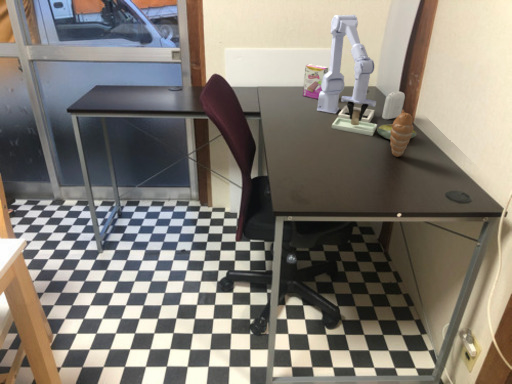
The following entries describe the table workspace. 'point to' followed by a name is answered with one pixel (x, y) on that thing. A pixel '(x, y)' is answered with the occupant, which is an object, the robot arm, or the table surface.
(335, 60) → the robot arm
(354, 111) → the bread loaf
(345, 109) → the square open frame
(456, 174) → the table surface
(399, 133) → the tan ribbed oblong piece
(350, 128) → the tray
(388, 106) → the photo printer
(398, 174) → the table surface
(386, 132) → the cell model
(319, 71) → the candy bar box
